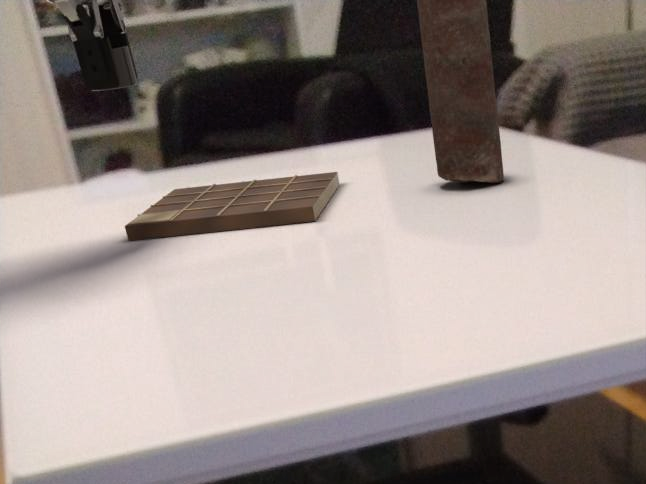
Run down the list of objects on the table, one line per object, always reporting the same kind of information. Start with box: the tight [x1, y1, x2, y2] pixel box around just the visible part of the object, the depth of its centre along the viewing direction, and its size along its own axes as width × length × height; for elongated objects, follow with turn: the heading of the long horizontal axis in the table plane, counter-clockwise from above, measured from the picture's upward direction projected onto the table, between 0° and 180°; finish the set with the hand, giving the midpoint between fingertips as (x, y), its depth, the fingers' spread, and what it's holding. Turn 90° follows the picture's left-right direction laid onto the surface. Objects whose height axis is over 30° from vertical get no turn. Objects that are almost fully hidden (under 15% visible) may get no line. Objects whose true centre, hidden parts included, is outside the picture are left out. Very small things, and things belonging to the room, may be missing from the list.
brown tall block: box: [416, 0, 505, 185], centre depth 109 cm, size 8×7×20 cm
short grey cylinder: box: [91, 46, 138, 92], centre depth 96 cm, size 4×4×3 cm
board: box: [124, 171, 340, 242], centre depth 114 cm, size 20×20×2 cm
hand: (112, 83), depth 97 cm, fingers closed on short grey cylinder, 4 cm apart
